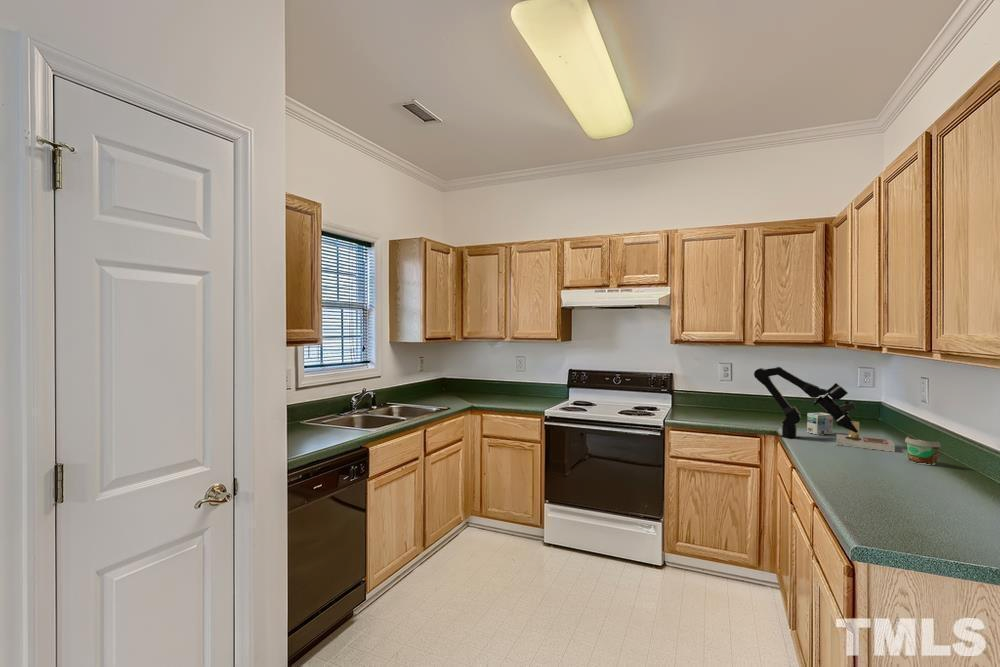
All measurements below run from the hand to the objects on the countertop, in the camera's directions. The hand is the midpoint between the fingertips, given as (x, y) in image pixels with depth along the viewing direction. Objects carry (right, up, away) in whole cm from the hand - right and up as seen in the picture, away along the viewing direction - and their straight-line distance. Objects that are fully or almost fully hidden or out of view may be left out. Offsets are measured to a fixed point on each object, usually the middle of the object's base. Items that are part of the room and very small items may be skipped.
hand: (857, 431), depth 241 cm
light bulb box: (-2, -6, +25) cm, 26 cm away
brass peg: (-1, -7, +1) cm, 7 cm away
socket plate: (+2, -7, -1) cm, 7 cm away
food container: (+3, -7, -31) cm, 32 cm away
